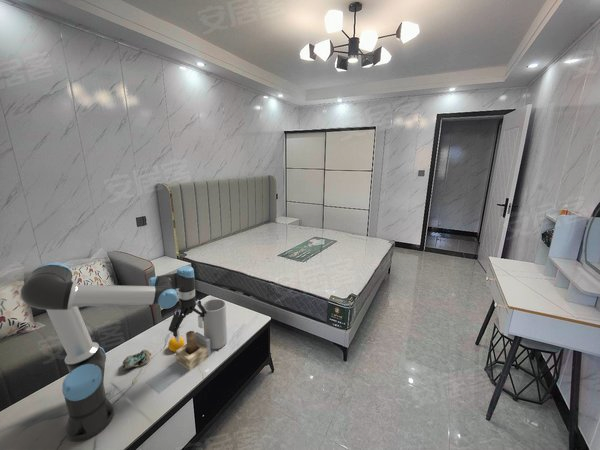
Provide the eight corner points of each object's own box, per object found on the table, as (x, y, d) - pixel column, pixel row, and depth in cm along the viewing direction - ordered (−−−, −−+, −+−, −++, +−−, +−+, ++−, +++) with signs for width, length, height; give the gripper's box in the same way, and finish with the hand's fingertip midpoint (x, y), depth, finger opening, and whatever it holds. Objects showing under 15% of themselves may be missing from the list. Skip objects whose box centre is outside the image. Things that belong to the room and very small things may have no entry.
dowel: (191, 360, 136) (189, 336, 132) (186, 356, 138) (184, 333, 134) (197, 355, 139) (196, 332, 136) (193, 352, 141) (191, 329, 138)
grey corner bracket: (159, 395, 119) (156, 375, 116) (146, 384, 124) (143, 364, 122) (211, 356, 143) (209, 339, 140) (198, 348, 148) (196, 331, 145)
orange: (173, 356, 142) (172, 344, 140) (166, 349, 147) (164, 338, 145) (187, 348, 148) (186, 337, 146) (179, 342, 153) (178, 331, 151)
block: (189, 370, 132) (188, 359, 130) (176, 361, 137) (175, 350, 136) (207, 357, 141) (207, 347, 139) (194, 349, 146) (194, 339, 145)
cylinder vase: (200, 347, 149) (197, 309, 143) (212, 334, 161) (210, 297, 154) (220, 352, 146) (218, 312, 140) (230, 337, 158) (229, 300, 152)
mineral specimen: (122, 375, 128) (127, 360, 127) (120, 362, 134) (124, 348, 134) (150, 370, 136) (154, 356, 136) (146, 358, 143) (150, 345, 142)
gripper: (167, 310, 117) (171, 350, 123) (212, 289, 138) (213, 324, 143) (158, 305, 121) (162, 344, 126) (203, 285, 142) (204, 319, 147)
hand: (189, 333), depth 135 cm, fingers open, 13 cm apart
